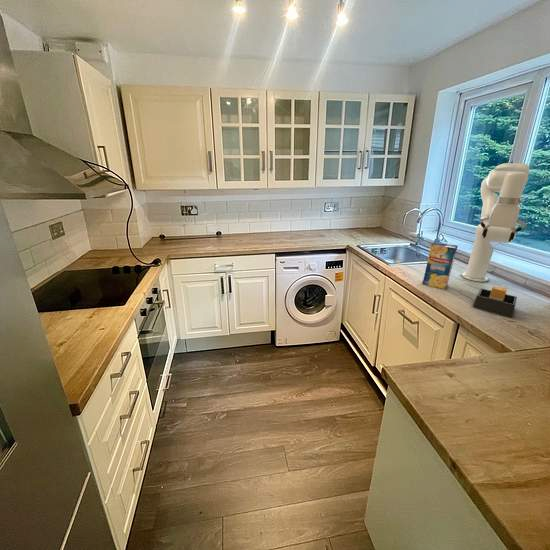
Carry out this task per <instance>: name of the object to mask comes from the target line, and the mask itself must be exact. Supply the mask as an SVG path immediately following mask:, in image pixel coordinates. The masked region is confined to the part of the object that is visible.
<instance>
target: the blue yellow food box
mask: <svg viewBox="0 0 550 550" xmlns="http://www.w3.org/2000/svg"><path fill="white" fill-rule="evenodd" d="M458 247H459V245H456V244H450V243H444V242H437V241H433V242H432V243H431V244H430V249H429V254H428V259H427V262H426V267H425V271H424V276H423V279H422V284H423V285H426V286H430V287H434V288H437V289H441V290H442V289H443V290H446V288H447V287H448V285H449V281H450V278H451V273H452V270H453V266H454V262H455V257H456V254H457V251H458V250H457V249H458Z"/></svg>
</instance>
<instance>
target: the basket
mask: <svg viewBox="0 0 550 550" xmlns="http://www.w3.org/2000/svg"><path fill="white" fill-rule="evenodd" d="M491 290H492V289H491ZM491 290H490V289H486V288H483V287H482V288H480V289H479V290H478V293H477V294H476V297H475V301H474V303H473V308H475V309H479V310H482V311H486V312H489V313H493V314H497V315H501V316H505V317H507V318H512V316H513V313H514V310H515V308H516V304H517V299H518V296H516V295H511V294H507V293H506V294H505V297H504V300H503V301H499V300H495V299H491V298H489V296H490V293H491Z"/></svg>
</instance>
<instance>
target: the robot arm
mask: <svg viewBox="0 0 550 550" xmlns="http://www.w3.org/2000/svg"><path fill="white" fill-rule="evenodd" d="M530 171H531V169H530V166H529V164H527V163H524V162H523V163H521V162H519V163H516V162H515V163H513V162H511V163H510V162H505V163H501V164H498V165H497V166H496V167H495V168H493V169H491V170H490V171H489V172H488V175H487V176H486V177H485V178H483V180H482V181H481V185H480V197H481V201H482V207H481V214H480V218H479V219H478V221H479V224H478V225H477V226H476V228H475V232H474V233H475V234H474V240H473V245H472V249H471V252H470V257H469V259H468V264H467V266H466V271H464V272H462V273H461V276H462V277H463V278H464V279H466V280H469V281H473V282H480V283H485V282H488V281H489V277H487V273H488V269H489V266H490V264H491V260H492V256H493V254H494V247H493V245H492V243H502V244H510V243H512V242H513V241H515V239H516V235H517V233H518V232H520V231H522V230H523V229H524V228H525V227H526V226H527V223H526V222H524V221H523V220H521V219H519V215H520V212H521V205H519V204H524V202H525V200H524V199H521V197H522V195H523V191H524V189H525V186H526V185H527V183H528V180H529V174H530ZM497 193H499V195H498V194H497ZM518 224H519V225H520V226H519V227H518ZM491 242H492V243H491Z"/></svg>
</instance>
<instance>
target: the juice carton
mask: <svg viewBox="0 0 550 550" xmlns="http://www.w3.org/2000/svg"><path fill="white" fill-rule="evenodd" d="M492 285H493V286H492V287H491V293H490V296H489V298H491V299H495V300H499V301H503V300H504V297H505V294H507V291H508V287H505V286H500V285H496V284H492Z"/></svg>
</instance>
